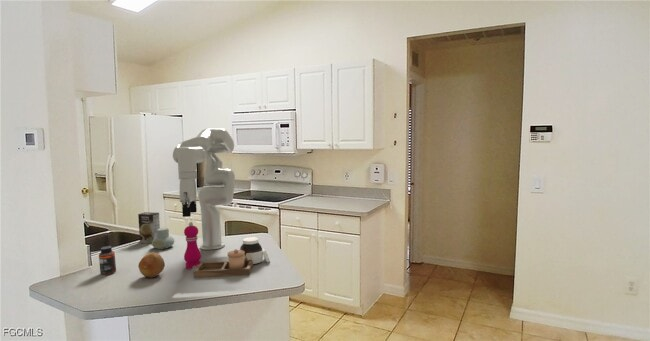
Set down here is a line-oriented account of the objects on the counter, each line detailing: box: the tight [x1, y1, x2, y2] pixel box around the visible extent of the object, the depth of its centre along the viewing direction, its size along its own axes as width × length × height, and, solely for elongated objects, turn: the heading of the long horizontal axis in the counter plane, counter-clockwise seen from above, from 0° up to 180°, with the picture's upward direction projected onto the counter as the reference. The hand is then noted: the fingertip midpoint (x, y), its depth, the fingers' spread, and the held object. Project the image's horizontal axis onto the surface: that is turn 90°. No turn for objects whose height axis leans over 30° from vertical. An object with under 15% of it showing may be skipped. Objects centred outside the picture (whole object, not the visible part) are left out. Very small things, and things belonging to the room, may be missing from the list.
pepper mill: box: [183, 222, 202, 270], centre depth 166 cm, size 7×7×20 cm
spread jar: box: [239, 236, 271, 266], centre depth 168 cm, size 12×11×12 cm
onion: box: [137, 251, 166, 278], centre depth 156 cm, size 10×10×10 cm
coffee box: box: [137, 211, 161, 244], centre depth 210 cm, size 9×6×16 cm
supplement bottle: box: [98, 245, 117, 276], centre depth 161 cm, size 6×6×11 cm
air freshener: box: [151, 227, 175, 250], centre depth 198 cm, size 11×8×10 cm
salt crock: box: [227, 249, 245, 269], centre depth 156 cm, size 7×7×9 cm
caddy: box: [193, 260, 254, 279], centre depth 156 cm, size 11×22×4 cm, turn 95°
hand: (189, 214), depth 165 cm, fingers open, 9 cm apart
